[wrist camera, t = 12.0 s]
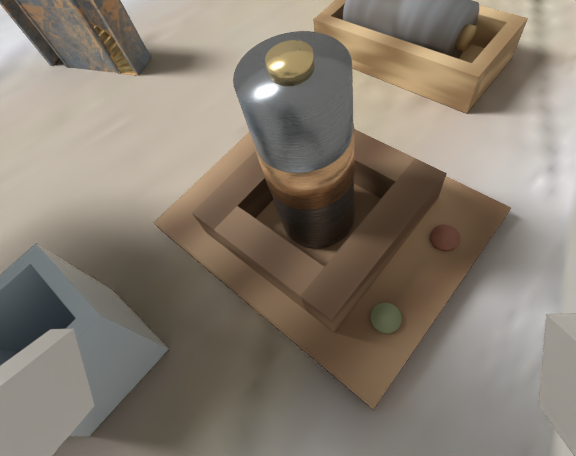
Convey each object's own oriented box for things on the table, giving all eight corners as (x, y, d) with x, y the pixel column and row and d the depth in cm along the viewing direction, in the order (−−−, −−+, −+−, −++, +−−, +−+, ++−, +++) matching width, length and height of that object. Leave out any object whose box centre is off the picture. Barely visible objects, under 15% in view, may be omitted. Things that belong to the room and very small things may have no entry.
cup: (38, 364, 23) (-72, 337, 17) (113, 291, 25) (36, 243, 19) (89, 436, 21) (-20, 434, 15) (168, 349, 23) (100, 315, 16)
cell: (266, 223, 24) (202, 72, 14) (311, 173, 26) (281, 4, 16) (324, 262, 22) (297, 121, 12) (370, 206, 24) (379, 37, 14)
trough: (316, 54, 34) (310, -6, 29) (363, 10, 36) (363, -51, 31) (466, 113, 28) (487, 49, 23) (512, 57, 30) (539, -11, 25)
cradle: (160, 229, 27) (135, 203, 24) (286, 107, 31) (279, 71, 28) (373, 409, 19) (376, 403, 16) (505, 216, 23) (527, 182, 20)
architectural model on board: (50, 72, 40) (-31, -26, 32) (67, 53, 41) (-7, -46, 33) (138, 82, 37) (73, -25, 28) (153, 61, 38) (95, -47, 29)
